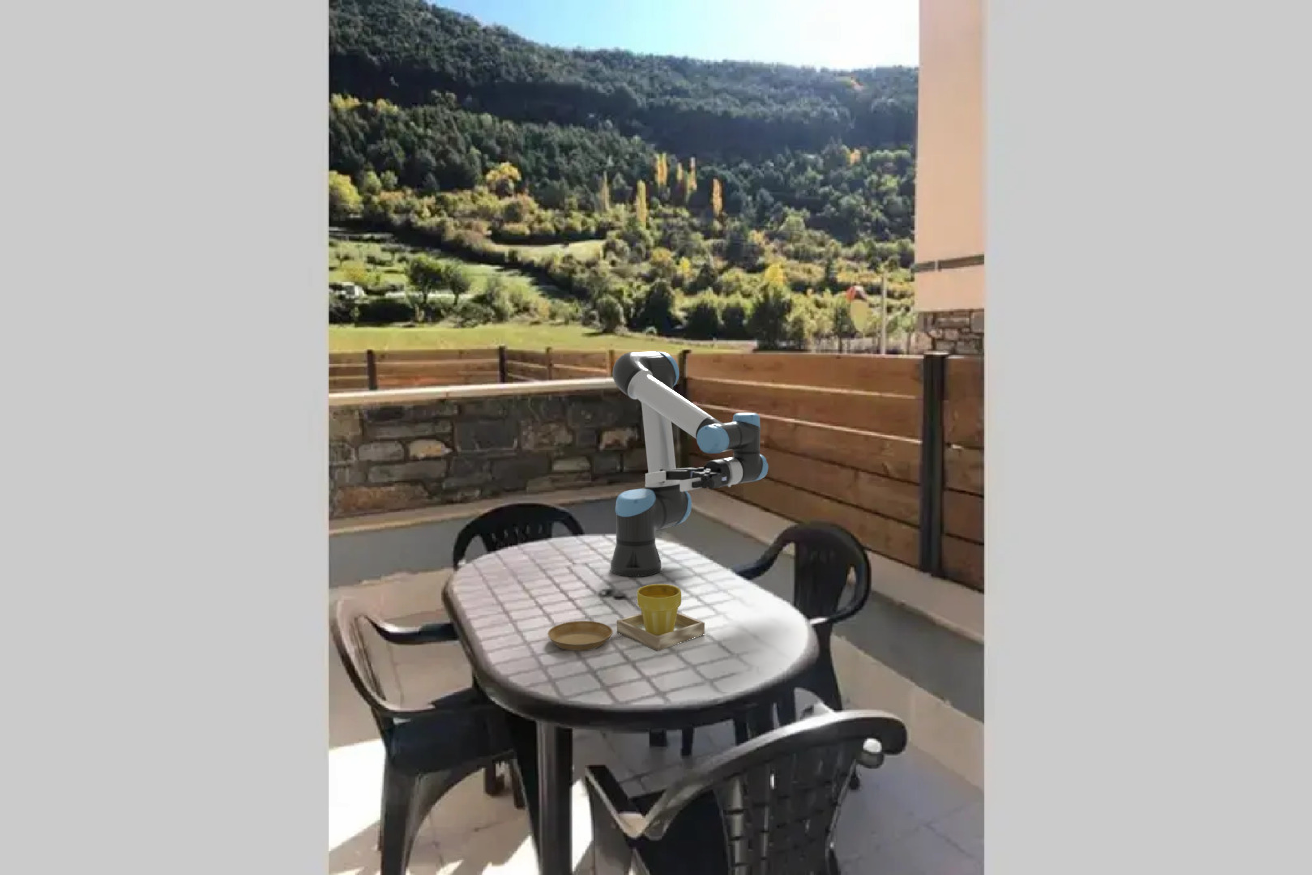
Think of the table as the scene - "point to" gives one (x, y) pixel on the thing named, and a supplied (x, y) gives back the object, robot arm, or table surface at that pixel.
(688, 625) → the tray
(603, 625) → the plant saucer
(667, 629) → the plant pot
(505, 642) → the table surface
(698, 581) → the table surface
